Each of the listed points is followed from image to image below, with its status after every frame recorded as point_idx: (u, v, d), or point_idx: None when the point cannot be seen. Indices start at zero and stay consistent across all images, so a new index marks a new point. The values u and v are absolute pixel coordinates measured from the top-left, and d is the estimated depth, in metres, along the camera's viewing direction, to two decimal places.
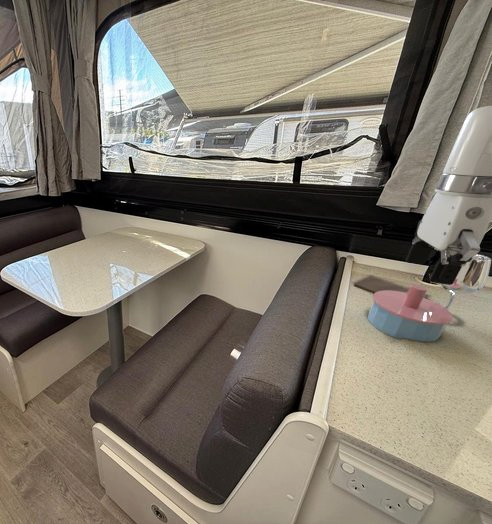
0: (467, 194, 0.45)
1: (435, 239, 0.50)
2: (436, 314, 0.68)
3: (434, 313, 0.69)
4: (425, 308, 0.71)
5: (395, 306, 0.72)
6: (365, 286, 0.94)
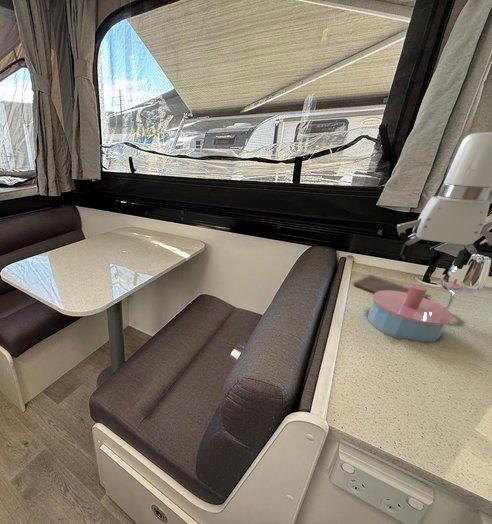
0: (486, 200, 0.58)
1: (462, 238, 0.61)
2: (436, 314, 0.68)
3: (434, 313, 0.69)
4: (425, 308, 0.71)
5: (395, 306, 0.72)
6: (365, 286, 0.94)
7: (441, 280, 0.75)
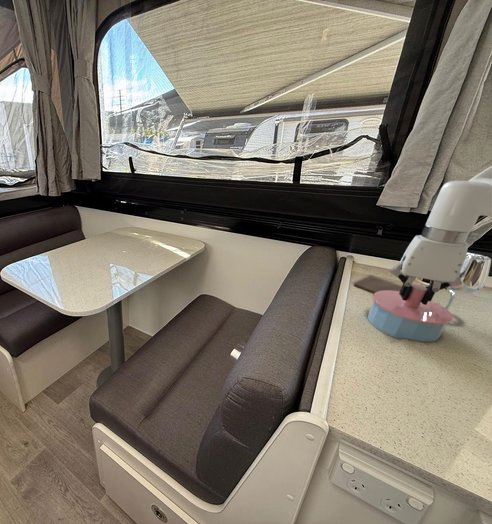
0: (464, 243, 0.62)
1: (443, 276, 0.65)
2: (436, 314, 0.68)
3: (434, 313, 0.69)
4: (425, 308, 0.71)
5: (395, 306, 0.72)
6: (365, 286, 0.94)
7: None
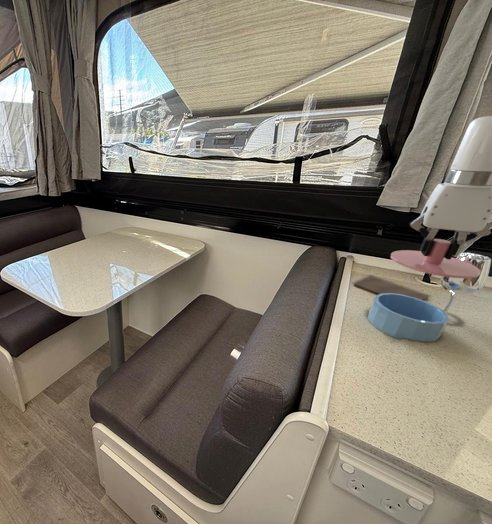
0: None
1: (470, 225, 0.60)
2: (461, 269, 0.63)
3: (459, 268, 0.63)
4: (449, 264, 0.66)
5: (416, 263, 0.67)
6: (365, 286, 0.94)
7: (441, 280, 0.75)
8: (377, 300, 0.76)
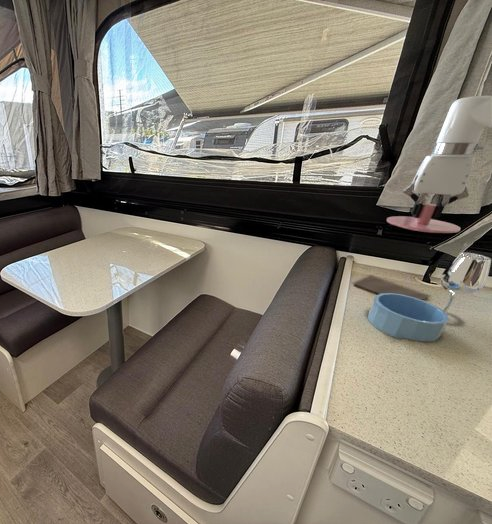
0: (471, 155, 0.69)
1: (452, 189, 0.73)
2: (445, 227, 0.76)
3: (443, 226, 0.76)
4: (435, 224, 0.78)
5: (408, 223, 0.79)
6: (365, 286, 0.94)
7: (441, 280, 0.75)
8: (377, 300, 0.76)
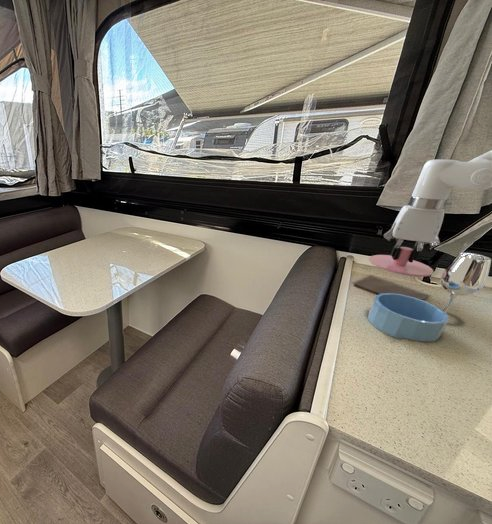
0: (442, 209, 0.78)
1: (425, 237, 0.81)
2: (420, 269, 0.84)
3: (418, 269, 0.85)
4: (411, 266, 0.87)
5: (387, 264, 0.88)
6: (365, 286, 0.94)
7: (441, 280, 0.75)
8: (377, 300, 0.76)
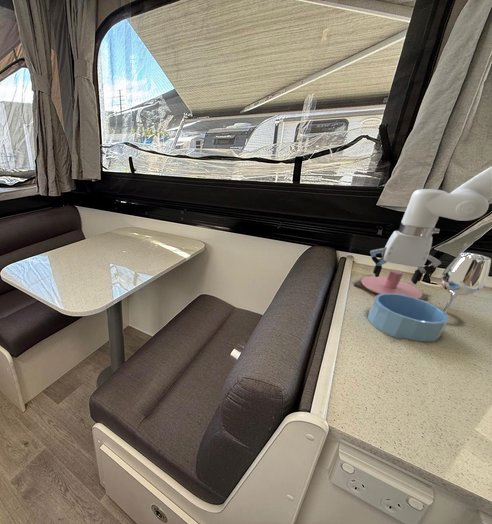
0: (430, 236, 0.81)
1: (415, 262, 0.85)
2: (409, 293, 0.88)
3: (408, 292, 0.88)
4: (401, 288, 0.90)
5: (378, 287, 0.91)
6: None
7: (441, 280, 0.75)
8: (377, 300, 0.76)
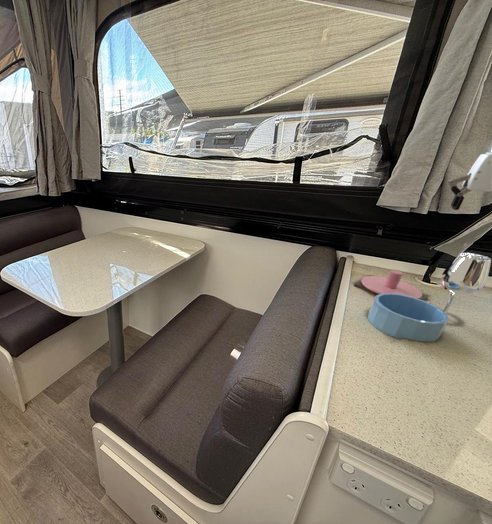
0: None
1: None
2: (409, 293, 0.88)
3: (408, 292, 0.88)
4: (401, 288, 0.90)
5: (378, 287, 0.91)
6: None
7: (441, 280, 0.75)
8: (377, 300, 0.76)
